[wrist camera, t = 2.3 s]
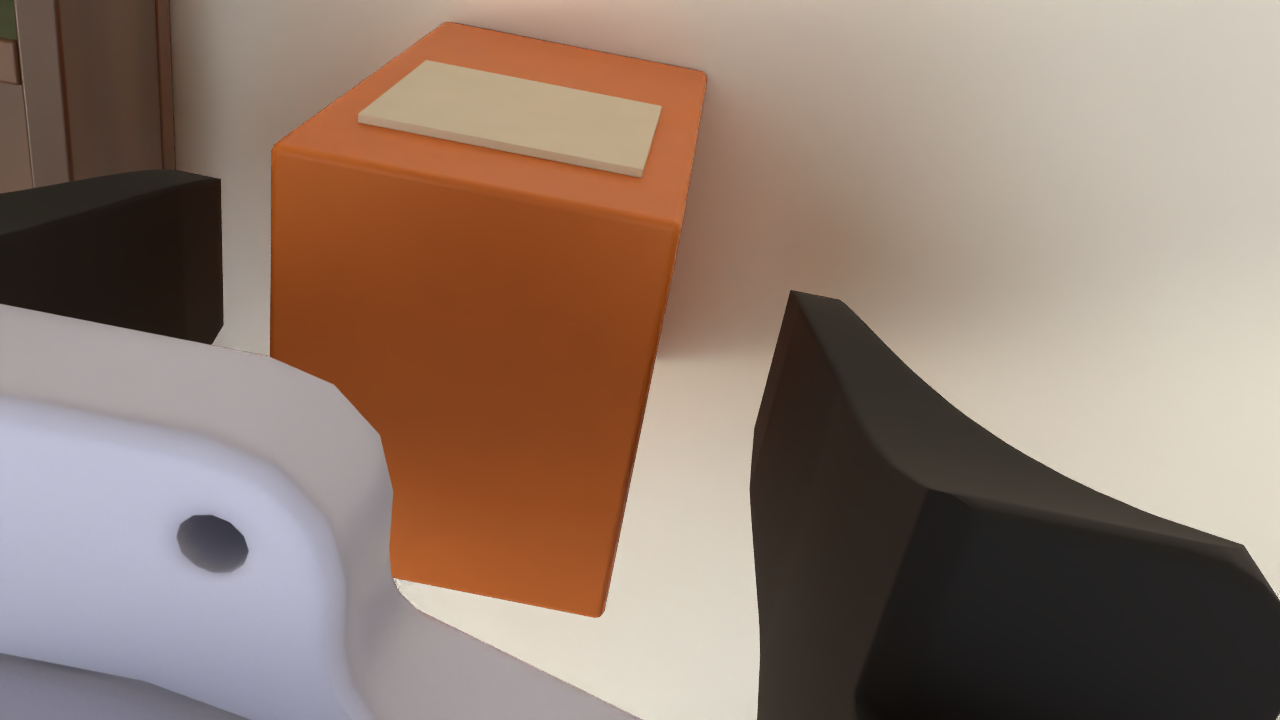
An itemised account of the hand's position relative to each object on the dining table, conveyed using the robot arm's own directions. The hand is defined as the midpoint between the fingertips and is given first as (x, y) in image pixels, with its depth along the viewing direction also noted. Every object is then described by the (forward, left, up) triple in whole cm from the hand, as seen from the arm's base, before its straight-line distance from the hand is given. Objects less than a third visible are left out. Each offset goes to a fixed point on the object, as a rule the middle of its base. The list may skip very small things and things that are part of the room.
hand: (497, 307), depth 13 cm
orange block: (0, 0, -4) cm, 4 cm away
